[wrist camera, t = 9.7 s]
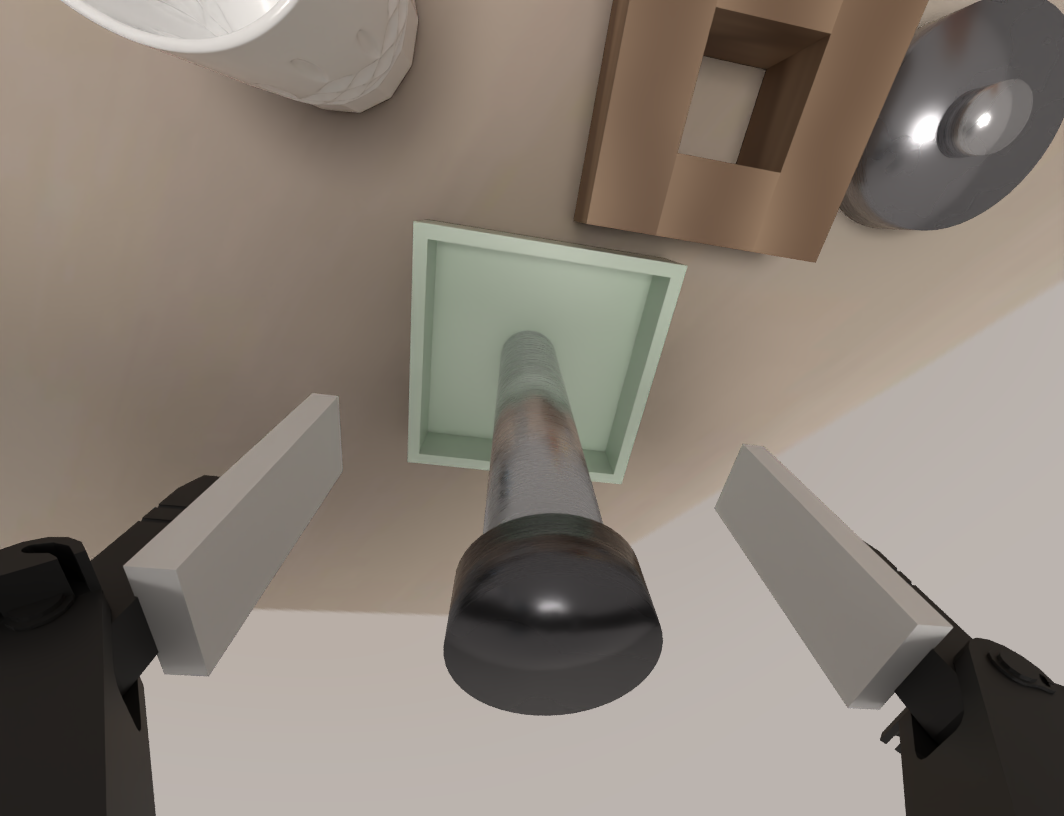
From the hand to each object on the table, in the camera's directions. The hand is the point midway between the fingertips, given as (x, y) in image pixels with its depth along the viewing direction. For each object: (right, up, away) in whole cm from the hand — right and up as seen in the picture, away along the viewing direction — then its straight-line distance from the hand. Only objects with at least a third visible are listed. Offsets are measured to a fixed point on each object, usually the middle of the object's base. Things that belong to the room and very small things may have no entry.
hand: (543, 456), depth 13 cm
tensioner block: (+7, +15, +5) cm, 17 cm away
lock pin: (-1, +4, +9) cm, 10 cm away
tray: (0, +5, +9) cm, 10 cm away
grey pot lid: (+17, +14, +5) cm, 23 cm away
